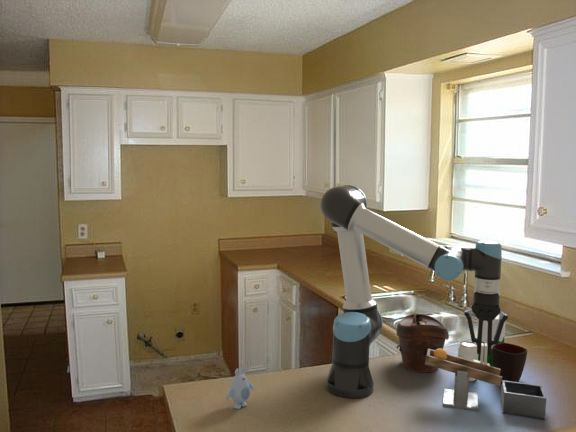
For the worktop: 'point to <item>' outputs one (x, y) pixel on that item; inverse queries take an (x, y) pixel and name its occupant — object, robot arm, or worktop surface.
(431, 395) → the worktop surface
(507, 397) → the tin
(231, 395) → the toy figure
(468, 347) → the can
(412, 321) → the case
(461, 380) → the stand
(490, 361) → the milk carton
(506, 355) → the cup
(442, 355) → the ball
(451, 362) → the lever
